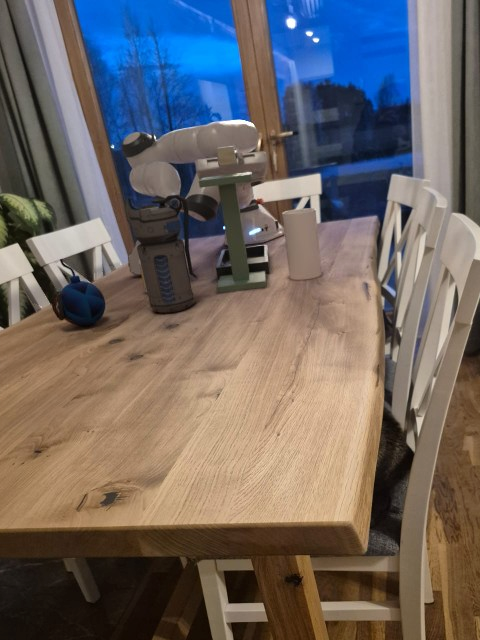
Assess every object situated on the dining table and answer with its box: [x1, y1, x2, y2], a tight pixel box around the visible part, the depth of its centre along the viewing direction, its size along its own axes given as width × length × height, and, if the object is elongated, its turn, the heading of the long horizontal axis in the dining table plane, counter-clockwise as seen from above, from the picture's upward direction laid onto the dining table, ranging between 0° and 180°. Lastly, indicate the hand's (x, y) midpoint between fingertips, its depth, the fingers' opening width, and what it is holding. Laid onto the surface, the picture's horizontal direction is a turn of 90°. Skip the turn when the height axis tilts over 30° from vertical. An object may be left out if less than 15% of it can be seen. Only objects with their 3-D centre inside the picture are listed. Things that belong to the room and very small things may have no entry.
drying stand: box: [199, 172, 267, 294], centre depth 142 cm, size 12×12×26 cm
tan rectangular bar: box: [217, 146, 237, 166], centre depth 152 cm, size 22×4×4 cm, turn 4°
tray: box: [215, 244, 271, 281], centre depth 166 cm, size 26×14×3 cm, turn 3°
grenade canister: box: [124, 194, 198, 314], centre depth 129 cm, size 10×13×25 cm
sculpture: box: [127, 239, 141, 276], centre depth 176 cm, size 11×18×12 cm
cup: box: [281, 207, 323, 281], centre depth 145 cm, size 8×8×16 cm
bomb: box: [50, 258, 106, 327], centre depth 126 cm, size 10×11×15 cm
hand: (229, 152), depth 156 cm, fingers closed on tan rectangular bar, 2 cm apart
